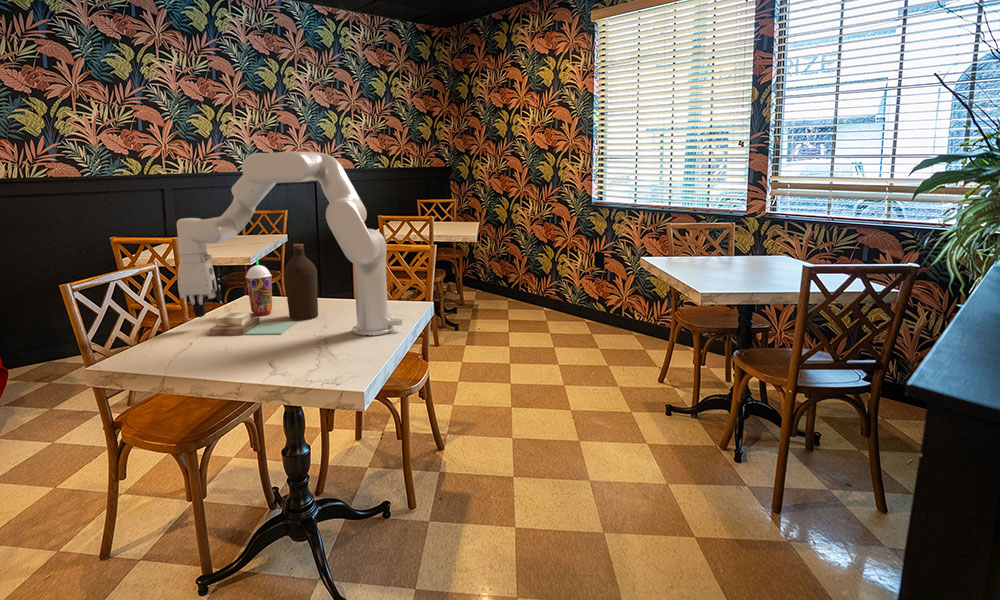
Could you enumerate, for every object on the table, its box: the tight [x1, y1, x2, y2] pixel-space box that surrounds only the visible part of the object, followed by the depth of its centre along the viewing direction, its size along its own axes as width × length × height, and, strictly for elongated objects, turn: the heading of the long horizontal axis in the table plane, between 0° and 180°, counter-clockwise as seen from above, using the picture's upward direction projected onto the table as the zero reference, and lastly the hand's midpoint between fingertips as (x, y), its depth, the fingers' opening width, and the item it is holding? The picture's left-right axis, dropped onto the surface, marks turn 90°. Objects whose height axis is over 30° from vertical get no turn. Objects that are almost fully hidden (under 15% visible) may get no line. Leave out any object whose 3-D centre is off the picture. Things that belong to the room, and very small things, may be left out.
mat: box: [244, 321, 296, 336], centre depth 189 cm, size 11×14×1 cm
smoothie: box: [245, 256, 273, 317], centre depth 206 cm, size 8×8×20 cm
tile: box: [215, 312, 252, 326], centre depth 188 cm, size 8×7×2 cm
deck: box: [209, 316, 261, 336], centre depth 189 cm, size 10×14×2 cm
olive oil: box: [283, 243, 319, 321], centre depth 201 cm, size 11×11×25 cm
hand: (200, 316), depth 188 cm, fingers closed
